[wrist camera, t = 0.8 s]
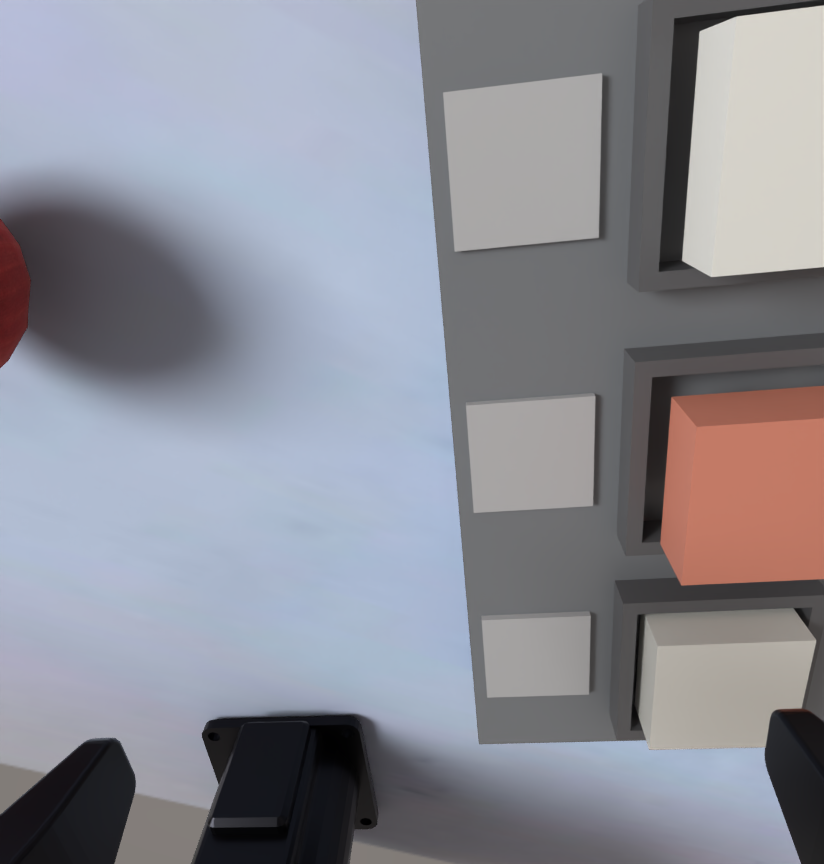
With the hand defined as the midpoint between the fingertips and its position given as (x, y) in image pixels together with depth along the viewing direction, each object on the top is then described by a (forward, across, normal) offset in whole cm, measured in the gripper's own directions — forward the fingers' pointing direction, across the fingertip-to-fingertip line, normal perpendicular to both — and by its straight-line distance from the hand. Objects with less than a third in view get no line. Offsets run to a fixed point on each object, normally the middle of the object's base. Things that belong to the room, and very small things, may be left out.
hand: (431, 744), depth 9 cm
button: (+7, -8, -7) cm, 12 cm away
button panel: (+12, -6, 0) cm, 14 cm away
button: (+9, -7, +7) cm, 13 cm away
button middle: (+7, -7, 0) cm, 10 cm away
